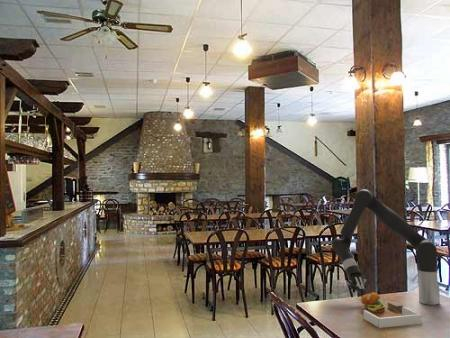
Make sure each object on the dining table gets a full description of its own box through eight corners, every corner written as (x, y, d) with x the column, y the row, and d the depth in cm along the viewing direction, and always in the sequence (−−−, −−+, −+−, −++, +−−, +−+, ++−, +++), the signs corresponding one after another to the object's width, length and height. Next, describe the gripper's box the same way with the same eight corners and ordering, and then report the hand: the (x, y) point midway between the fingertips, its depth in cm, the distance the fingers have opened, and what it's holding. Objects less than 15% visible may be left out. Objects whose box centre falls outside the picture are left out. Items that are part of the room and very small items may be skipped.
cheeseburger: (389, 313, 193) (384, 293, 193) (369, 318, 193) (363, 299, 193) (381, 306, 203) (376, 288, 203) (362, 311, 203) (357, 293, 203)
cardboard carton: (394, 307, 202) (394, 301, 202) (403, 311, 195) (403, 305, 195) (387, 307, 201) (387, 302, 201) (396, 312, 194) (396, 306, 195)
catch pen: (404, 314, 190) (403, 306, 190) (422, 323, 178) (421, 314, 178) (363, 318, 186) (363, 310, 186) (379, 327, 173) (379, 318, 174)
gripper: (343, 265, 214) (355, 293, 202) (364, 264, 217) (378, 291, 204) (338, 273, 219) (350, 301, 207) (359, 271, 222) (372, 299, 209)
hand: (364, 296), depth 206 cm, fingers closed
